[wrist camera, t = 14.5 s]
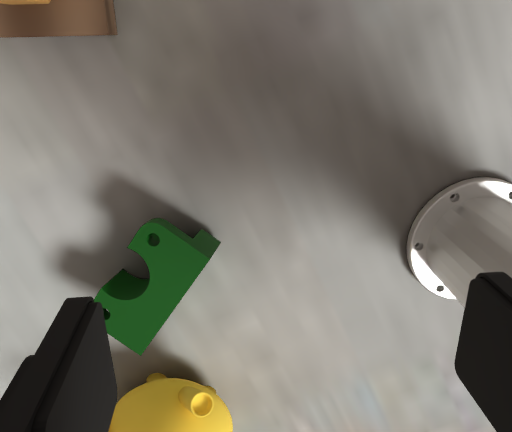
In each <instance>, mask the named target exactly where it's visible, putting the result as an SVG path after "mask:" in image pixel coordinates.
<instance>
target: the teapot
mask: <svg viewBox="0 0 512 432" xmlns="http://www.w3.org/2000/svg"><path fill="white" fill-rule="evenodd" d="M146 382H147V383H145V384H143V385H140V386H138V387H136V388H134V389H133V390H131V391H129V392H128V393H127V394H126V395H124V396H123V397H122V398H121V399H120V400H119V401H118V403H117V404H116V406H115V409H114V413H113V417H112V420H111V424H110V428H109V431H108V432H232V429H233V425H232V418H231V415H230V412H229V410H228V408H227V406H226V405H225V403H224V402H223V401H222V399H221V398H220V397H219V396H218V395H216V391H215V389H214V388H212V387H210V386H203V385H200V384H198V383H196V382H193V381H190V380H185V379H179V378H167V377H166V376H165V375H163V374H161V373H153V374H151V375H149V376H148V377H147V380H146Z"/></svg>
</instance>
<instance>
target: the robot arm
mask: <svg viewBox="0 0 512 432" xmlns="http://www.w3.org/2000/svg"><path fill="white" fill-rule="evenodd" d="M451 195H452V196H451ZM407 258H408V262H409V266H410V268H411V270H412V272H413V274H414V276H415V277H416V278H417V279H418V281H419V282H420V283H421V284H422V285H423V286H424V287H425V288H426V289H427V290H429V291H430V292H432V293H434V294H436V295H438V296H441V297H445V298H449V299H457V300H458V301H459V302H460V303H461V305H462V306H463V307H464V308H465V310H464V315H463V320H462V326H461V331H460V336H459V342H458V347H457V352H456V358H455V370H456V373H457V375H458V377H459V378H460V380H461V381H462V383H463V384H464V386H465V387H466V388H467V390H468V391H469V393H470V394H471V396H472V397H473V398H474V400H475V401H476V403H477V404H478V406H479V407H480V408H481V410H482V411H483V413H484V414H485V416H486V417H487V418H488V420H489V421H490V423H491V424H492V426H493V427H494V428H495V430H496V431H497V432H512V184H511V183H509V182H506V181H504V180H501V179H497V178H490V177H480V178H472V179H467V180H463V181H460V182H458V183H456V184H453V185H451V186H449V187H447V188H446V189H444V190H442V191H441V192H439V193H438V194H437V195H435V196H434V197H433V198H432V199H431V200H430V201H428V202H427V204H426V205H425V206H424V207H423V208H422V210H421V211H420V212H419V214H418V215H417V217H416V219H415V220H414V222H413V224H412V227H411V229H410V232H409V235H408V241H407ZM116 401H117V385H116V379H115V374H114V368H113V363H112V357H111V352H110V346H109V341H108V335H107V330H106V324H105V319H104V313H103V308H102V304H101V303H100V302H94V300H93V298H92V297H76V298H67V299H66V300H65V301H64V303H63V305H62V307H61V309H60V310H59V312H58V314H57V316H56V317H55V319H54V321H53V323H52V325H51V326H50V328H49V330H48V332H47V333H46V335H45V337H44V339H43V341H42V342H41V344H40V346H39V348H38V349H37V351H36V353H35V355H30V356H28V357H26V358H25V360H24V361H23V362H22V364H21V366H20V367H19V369H18V371H17V373H16V374H15V376H14V378H13V379H12V381H11V383H10V384H9V386H8V388H7V390H6V391H5V393H4V395H3V396H2V398H1V400H0V432H108V431H109V428H110V424H111V420H112V417H113V413H114V409H115V406H116Z"/></svg>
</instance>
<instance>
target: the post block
mask: <svg viewBox="0 0 512 432" xmlns="http://www.w3.org/2000/svg"><path fill="white" fill-rule="evenodd" d="M90 35H118V34H117V27H116V19H115V11H114V4H113V0H51V1H50V2H49V4H14V5H9V4H2V3H0V38H1V37H45V36H90Z"/></svg>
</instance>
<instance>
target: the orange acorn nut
mask: <svg viewBox="0 0 512 432" xmlns="http://www.w3.org/2000/svg"><path fill="white" fill-rule="evenodd" d="M50 1H51V0H0V3H2V4H9V5H14V4H49V2H50Z"/></svg>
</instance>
